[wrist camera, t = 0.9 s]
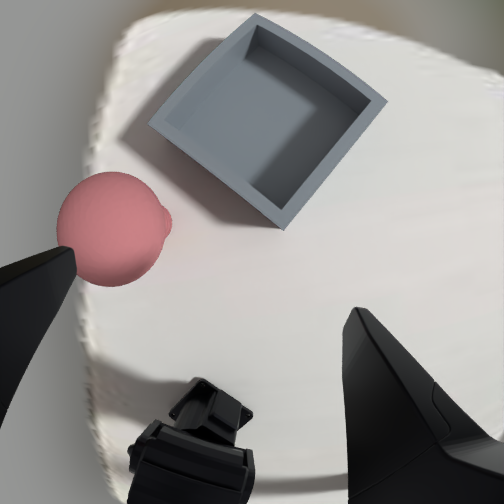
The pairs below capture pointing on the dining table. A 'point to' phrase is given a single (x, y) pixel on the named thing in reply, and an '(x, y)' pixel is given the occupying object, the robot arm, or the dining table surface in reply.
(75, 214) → the light bulb
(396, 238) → the dining table surface
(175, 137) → the blue-gray bin
